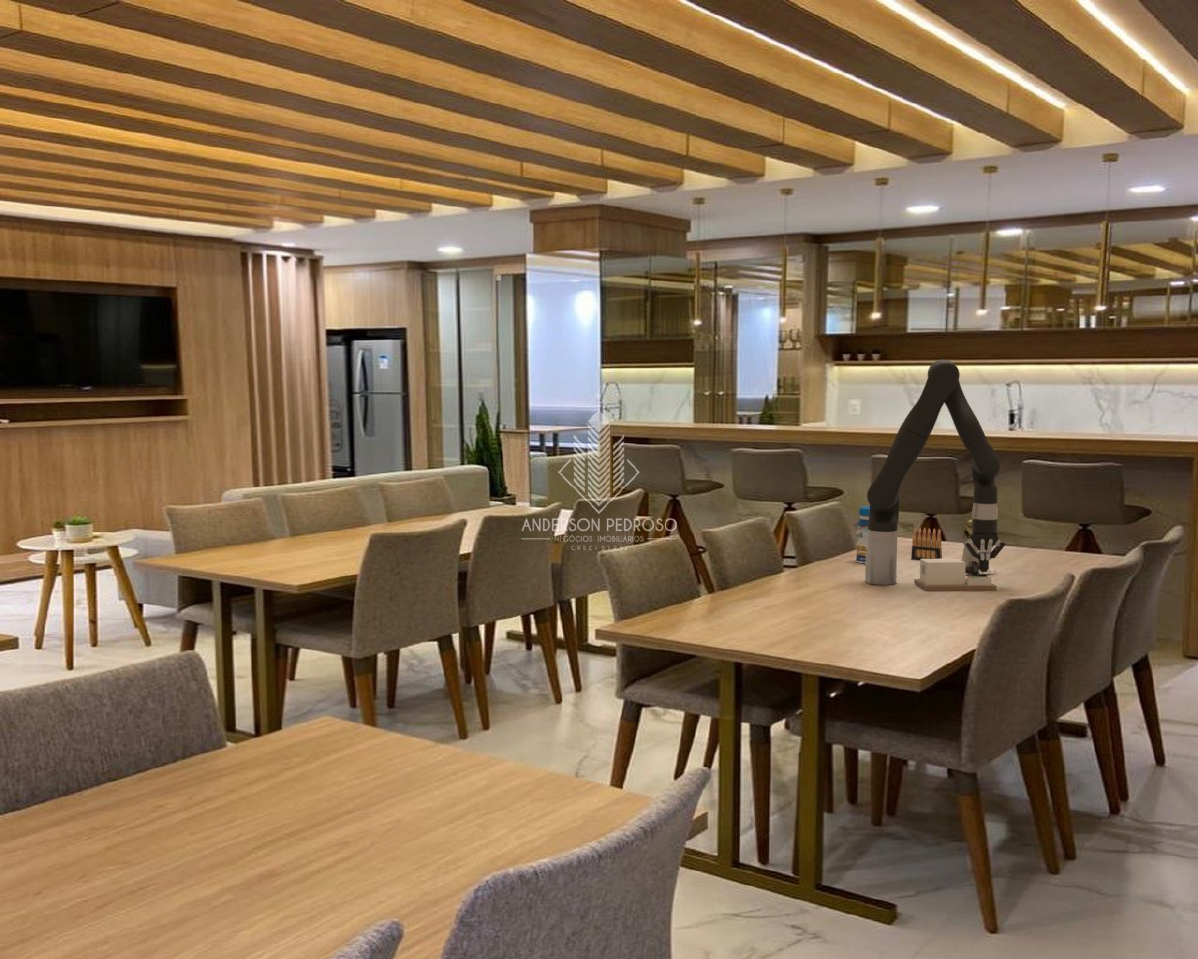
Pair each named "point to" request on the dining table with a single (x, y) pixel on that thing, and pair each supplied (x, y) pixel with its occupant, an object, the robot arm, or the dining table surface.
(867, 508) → the beverage bottle
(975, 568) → the plunger
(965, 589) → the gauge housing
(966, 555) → the figurine
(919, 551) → the ammunition clip
